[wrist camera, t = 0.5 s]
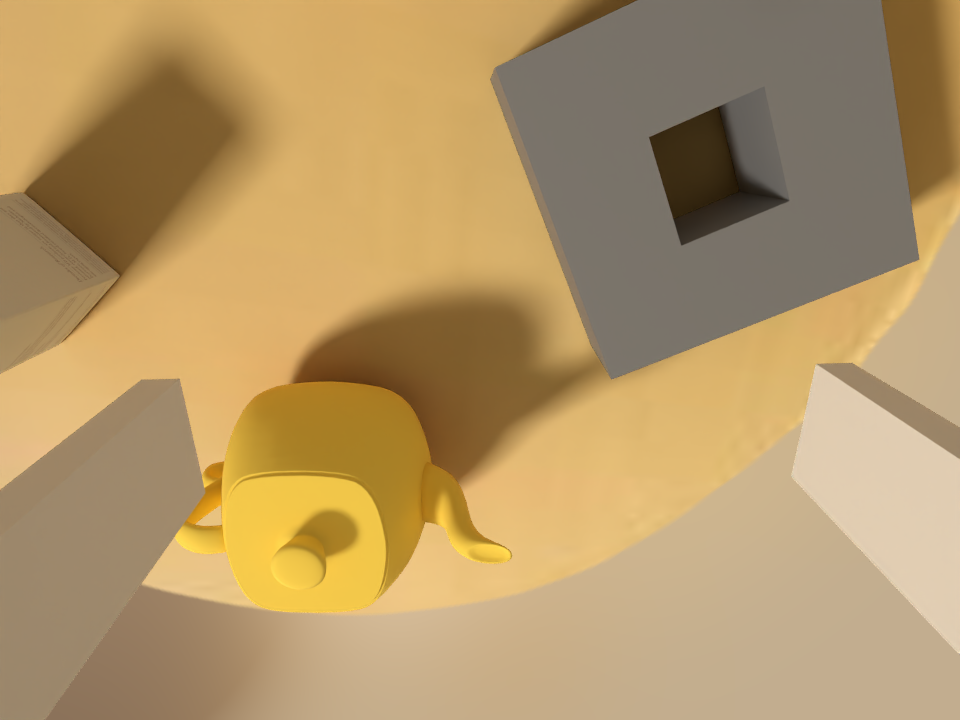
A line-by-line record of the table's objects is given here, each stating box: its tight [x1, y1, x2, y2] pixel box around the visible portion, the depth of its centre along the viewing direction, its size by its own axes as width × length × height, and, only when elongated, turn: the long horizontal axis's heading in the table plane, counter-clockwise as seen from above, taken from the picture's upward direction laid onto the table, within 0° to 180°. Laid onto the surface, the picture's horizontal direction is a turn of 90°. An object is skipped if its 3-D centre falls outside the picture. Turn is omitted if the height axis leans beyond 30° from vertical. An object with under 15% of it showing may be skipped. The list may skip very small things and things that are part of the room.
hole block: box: [490, 0, 919, 379], centre depth 33 cm, size 18×18×6 cm
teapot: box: [175, 381, 512, 613], centre depth 36 cm, size 14×20×13 cm
